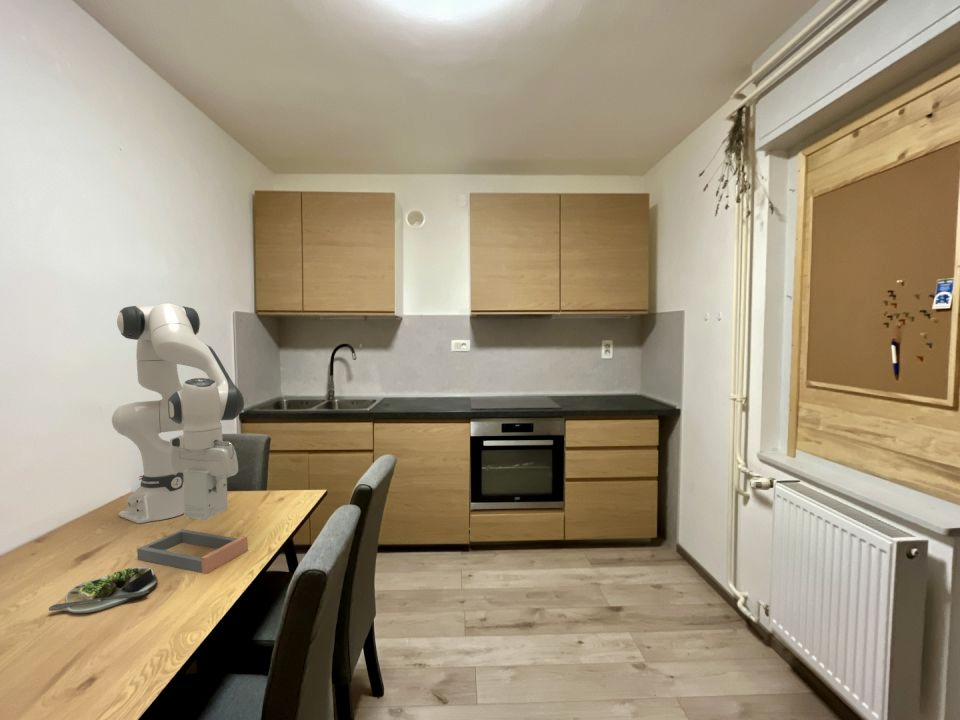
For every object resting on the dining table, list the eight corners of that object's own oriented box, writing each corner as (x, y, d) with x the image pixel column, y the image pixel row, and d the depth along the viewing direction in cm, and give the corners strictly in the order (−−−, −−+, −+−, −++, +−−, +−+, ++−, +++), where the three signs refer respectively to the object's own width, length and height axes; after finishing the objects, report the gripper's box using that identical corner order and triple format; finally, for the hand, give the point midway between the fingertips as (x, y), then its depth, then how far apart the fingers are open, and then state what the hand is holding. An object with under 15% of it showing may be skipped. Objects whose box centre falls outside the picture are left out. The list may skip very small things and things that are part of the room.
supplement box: (207, 520, 119) (205, 472, 118) (183, 518, 121) (181, 470, 120) (228, 510, 126) (227, 464, 125) (206, 507, 128) (204, 463, 127)
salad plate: (49, 633, 94) (47, 611, 93) (49, 598, 107) (47, 579, 106) (162, 595, 107) (161, 576, 107) (150, 568, 120) (149, 551, 120)
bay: (137, 559, 124) (136, 545, 124) (183, 539, 136) (182, 526, 136) (206, 573, 116) (205, 558, 116) (248, 550, 128) (247, 536, 128)
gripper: (243, 438, 122) (245, 489, 123) (187, 434, 129) (189, 483, 129) (222, 444, 116) (225, 498, 117) (165, 439, 123) (168, 490, 123)
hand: (206, 490), depth 123 cm, fingers closed on supplement box, 8 cm apart
